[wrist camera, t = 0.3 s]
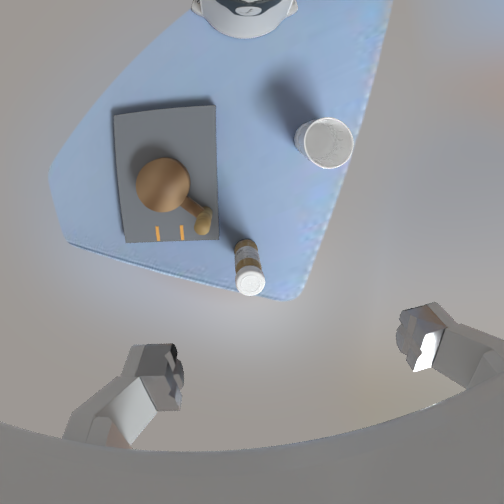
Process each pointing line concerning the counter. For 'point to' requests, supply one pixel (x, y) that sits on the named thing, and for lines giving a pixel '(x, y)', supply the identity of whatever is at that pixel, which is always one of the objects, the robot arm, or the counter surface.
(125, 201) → the stand
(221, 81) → the counter surface
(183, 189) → the dial
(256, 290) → the sprinkles bottle
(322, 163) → the white cup
